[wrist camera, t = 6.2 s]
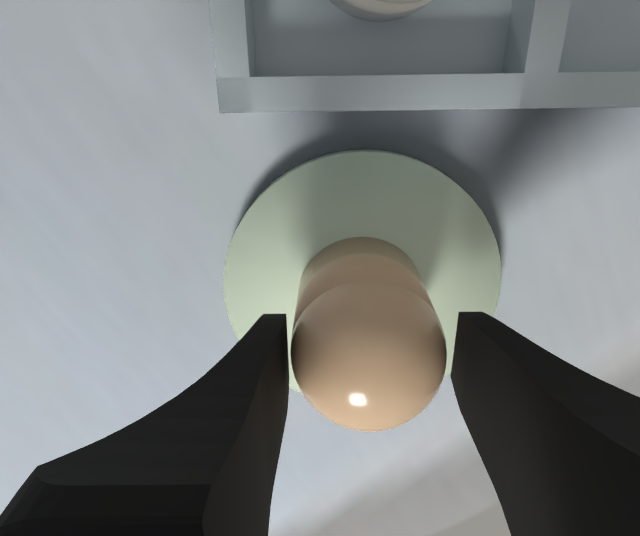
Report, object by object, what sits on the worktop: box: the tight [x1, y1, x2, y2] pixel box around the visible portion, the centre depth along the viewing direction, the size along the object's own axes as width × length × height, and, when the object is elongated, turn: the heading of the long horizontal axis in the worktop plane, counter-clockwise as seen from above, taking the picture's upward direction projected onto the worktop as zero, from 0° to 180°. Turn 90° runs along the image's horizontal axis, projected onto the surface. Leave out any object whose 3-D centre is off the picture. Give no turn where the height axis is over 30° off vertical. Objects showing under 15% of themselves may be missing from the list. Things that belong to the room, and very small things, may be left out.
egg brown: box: [290, 237, 447, 432], centre depth 12 cm, size 4×4×5 cm
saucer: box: [223, 149, 501, 393], centre depth 15 cm, size 9×9×1 cm
